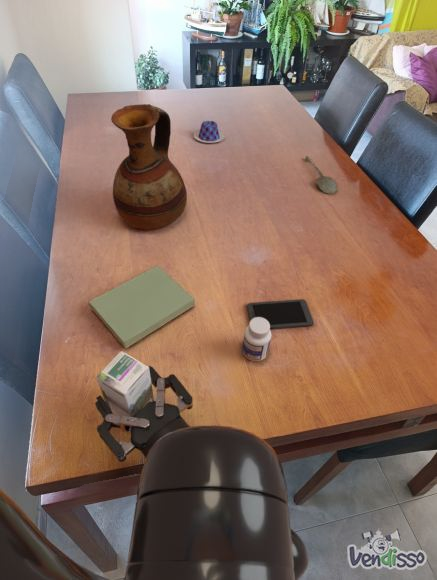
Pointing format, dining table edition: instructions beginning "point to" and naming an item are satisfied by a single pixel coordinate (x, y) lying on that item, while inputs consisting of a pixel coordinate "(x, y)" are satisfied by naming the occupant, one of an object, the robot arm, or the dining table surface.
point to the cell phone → (282, 313)
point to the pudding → (209, 132)
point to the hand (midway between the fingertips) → (122, 383)
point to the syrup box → (125, 385)
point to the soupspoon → (324, 181)
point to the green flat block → (141, 305)
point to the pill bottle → (257, 339)
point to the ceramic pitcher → (147, 170)
